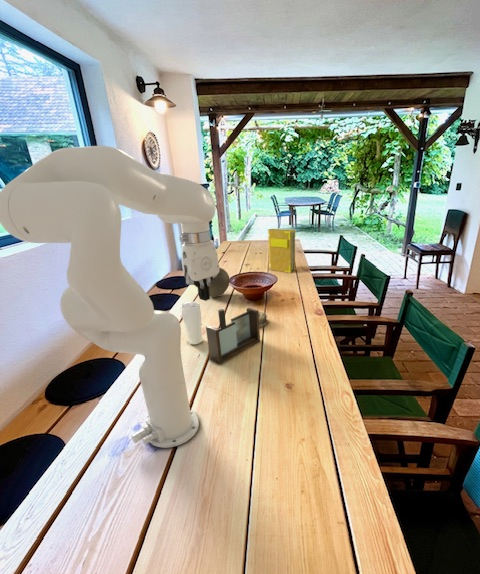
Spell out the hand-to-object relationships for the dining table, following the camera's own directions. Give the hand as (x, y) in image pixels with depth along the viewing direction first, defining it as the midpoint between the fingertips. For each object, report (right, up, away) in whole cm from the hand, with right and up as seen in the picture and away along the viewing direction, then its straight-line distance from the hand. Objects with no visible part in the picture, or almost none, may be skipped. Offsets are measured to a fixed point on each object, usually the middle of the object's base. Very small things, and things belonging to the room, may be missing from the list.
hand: (204, 299), depth 97 cm
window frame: (+8, -17, +18) cm, 26 cm away
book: (+28, +26, +110) cm, 117 cm away
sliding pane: (+5, -18, +14) cm, 23 cm away
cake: (+14, -8, +38) cm, 41 cm away
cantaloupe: (-7, +6, +70) cm, 70 cm away
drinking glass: (-8, -15, +25) cm, 30 cm away
